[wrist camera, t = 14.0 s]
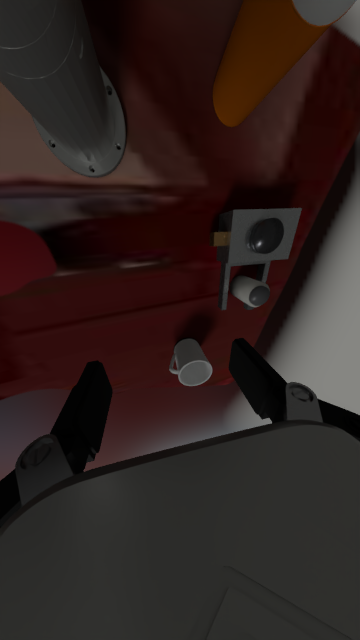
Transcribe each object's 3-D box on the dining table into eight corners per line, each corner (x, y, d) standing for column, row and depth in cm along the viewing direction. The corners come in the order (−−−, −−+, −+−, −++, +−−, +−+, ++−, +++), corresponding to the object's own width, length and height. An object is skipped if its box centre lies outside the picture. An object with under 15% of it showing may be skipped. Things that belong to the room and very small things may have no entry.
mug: (203, 337, 46) (216, 360, 37) (196, 359, 50) (207, 385, 41) (167, 335, 44) (173, 360, 35) (163, 359, 47) (167, 386, 38)
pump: (230, 276, 39) (250, 285, 31) (250, 274, 40) (275, 282, 32) (227, 301, 42) (245, 315, 35) (246, 299, 43) (267, 312, 35)
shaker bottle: (217, 146, 27) (342, -23, 10) (198, 67, 23) (366, -504, 5) (262, 118, 26) (482, -113, 9) (252, 32, 22) (640, -734, 5)
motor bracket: (206, 215, 32) (222, 208, 25) (278, 213, 34) (309, 206, 27) (203, 308, 42) (214, 320, 35) (259, 301, 44) (278, 312, 37)
